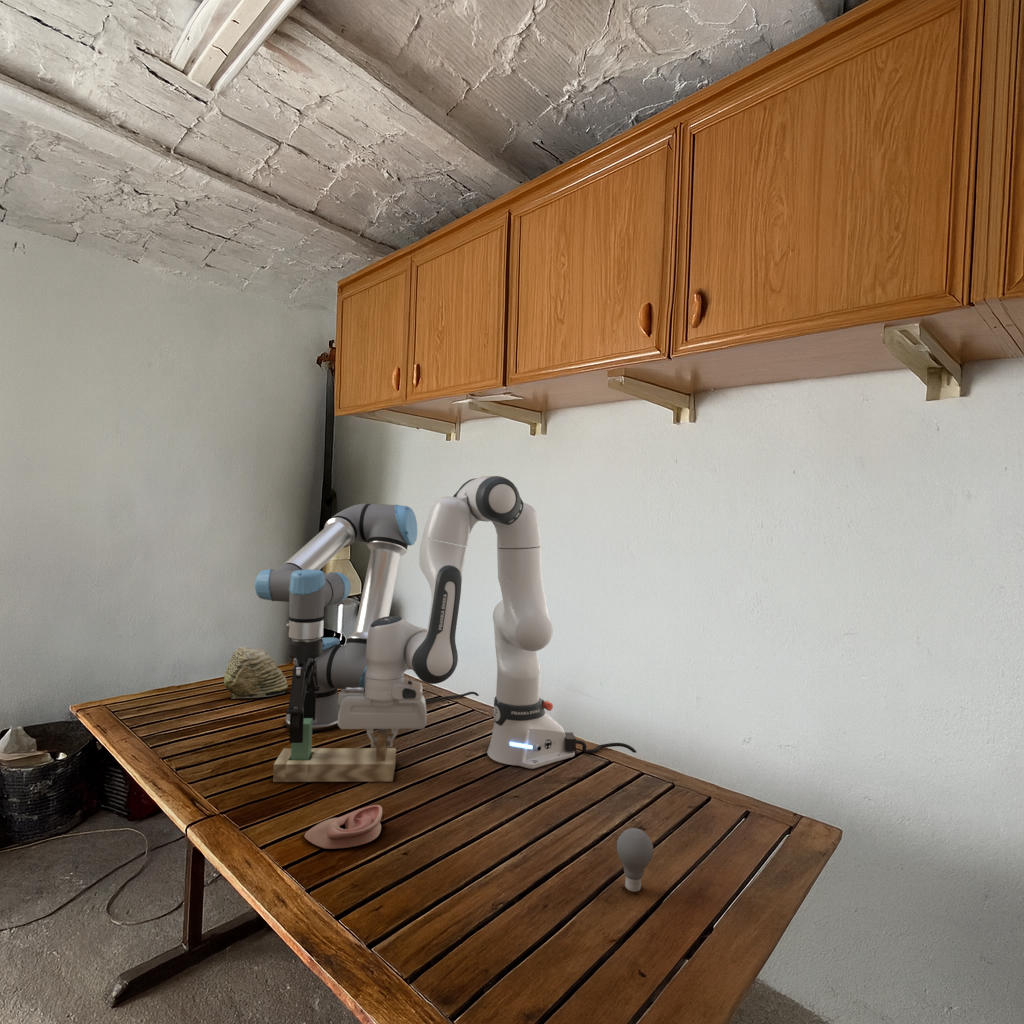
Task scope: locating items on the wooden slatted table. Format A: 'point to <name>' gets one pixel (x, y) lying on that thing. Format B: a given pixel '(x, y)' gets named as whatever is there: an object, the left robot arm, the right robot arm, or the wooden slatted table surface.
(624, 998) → the wooden slatted table surface
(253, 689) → the fossil
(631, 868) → the light bulb
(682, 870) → the wooden slatted table surface
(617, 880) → the wooden slatted table surface
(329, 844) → the anatomical model
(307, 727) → the peg
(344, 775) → the peg board
